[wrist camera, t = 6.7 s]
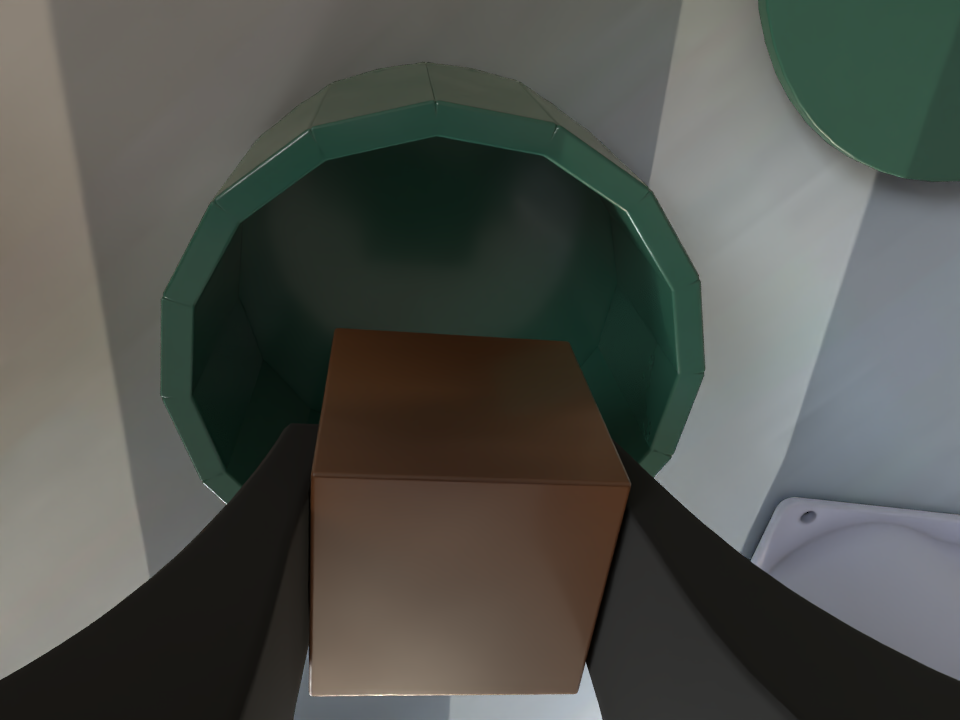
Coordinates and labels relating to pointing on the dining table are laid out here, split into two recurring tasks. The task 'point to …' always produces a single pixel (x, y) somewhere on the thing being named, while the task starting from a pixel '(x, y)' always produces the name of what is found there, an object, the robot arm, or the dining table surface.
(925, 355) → the dining table surface
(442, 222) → the tin
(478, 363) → the block
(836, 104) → the tin lid
